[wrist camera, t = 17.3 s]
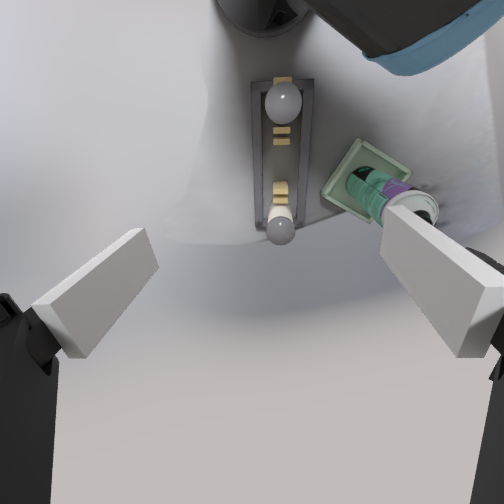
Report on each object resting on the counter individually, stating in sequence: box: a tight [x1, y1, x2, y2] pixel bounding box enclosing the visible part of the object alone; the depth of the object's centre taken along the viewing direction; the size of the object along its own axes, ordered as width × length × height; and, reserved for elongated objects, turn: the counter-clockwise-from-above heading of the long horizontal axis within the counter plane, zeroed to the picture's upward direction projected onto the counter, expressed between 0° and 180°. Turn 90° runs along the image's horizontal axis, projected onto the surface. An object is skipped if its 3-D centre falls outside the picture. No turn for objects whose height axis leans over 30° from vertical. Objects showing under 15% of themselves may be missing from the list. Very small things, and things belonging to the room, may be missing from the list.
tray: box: [320, 138, 413, 224], centre depth 41 cm, size 10×10×2 cm
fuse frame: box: [251, 77, 314, 227], centre depth 39 cm, size 23×9×6 cm, turn 2°
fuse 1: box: [265, 81, 302, 124], centre depth 33 cm, size 4×4×12 cm
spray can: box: [345, 166, 439, 227], centre depth 33 cm, size 6×6×20 cm
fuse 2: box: [266, 199, 295, 245], centre depth 40 cm, size 4×4×12 cm
